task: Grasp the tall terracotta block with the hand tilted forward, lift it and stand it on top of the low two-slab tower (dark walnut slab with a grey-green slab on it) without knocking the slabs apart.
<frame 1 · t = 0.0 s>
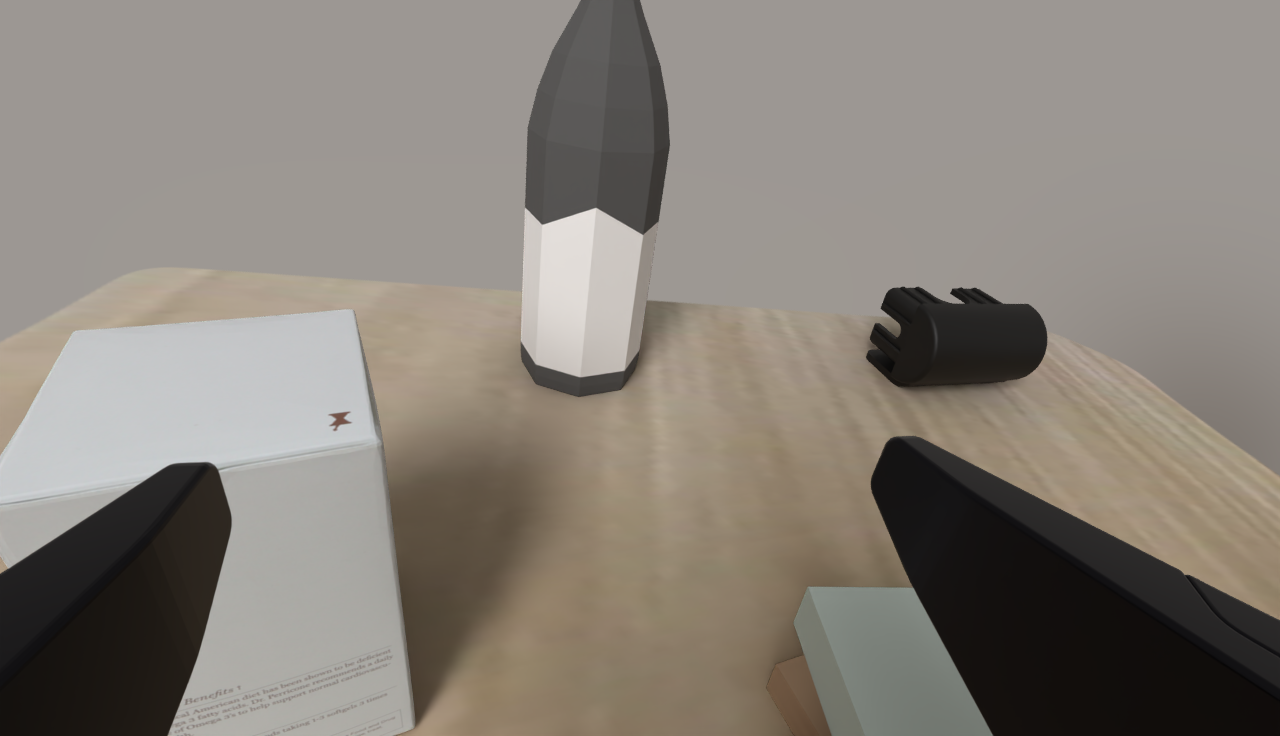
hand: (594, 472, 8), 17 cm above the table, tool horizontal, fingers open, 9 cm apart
supplement box: (297, 676, 22), on the table
end cap: (935, 381, 48), on the table
wine bottle: (578, 367, 42), on the table
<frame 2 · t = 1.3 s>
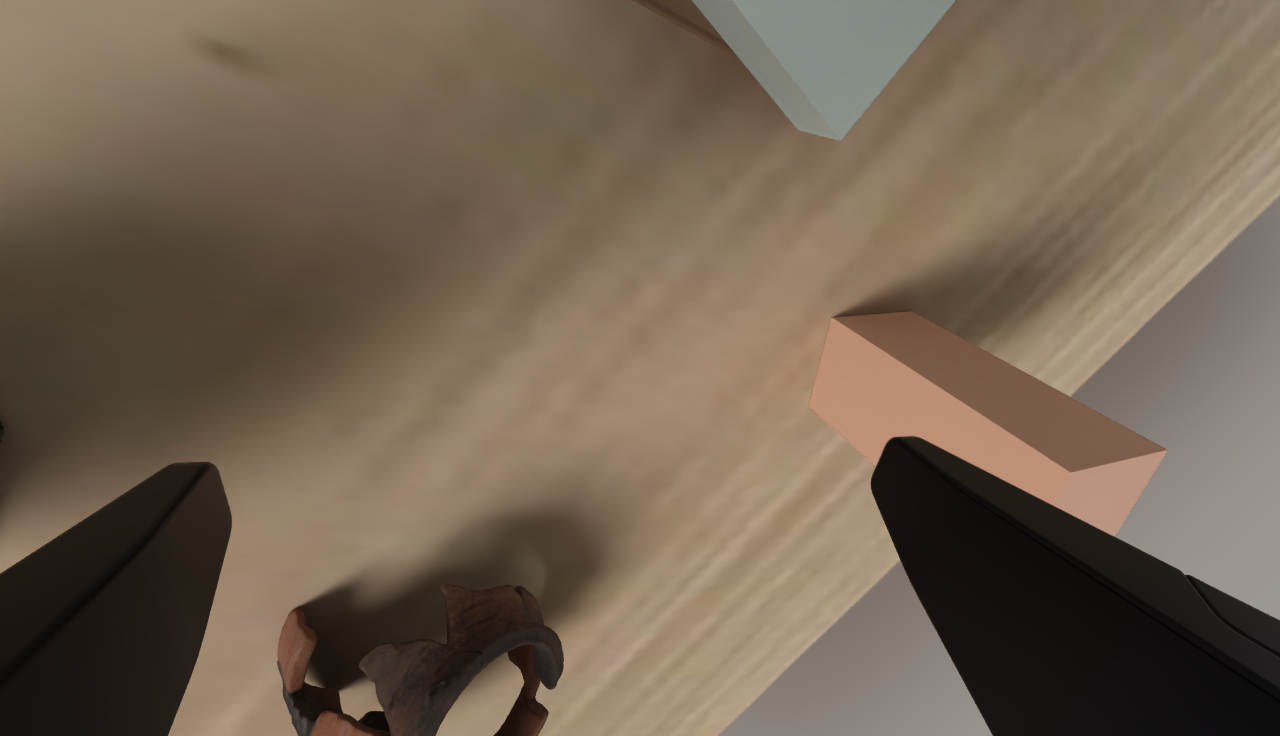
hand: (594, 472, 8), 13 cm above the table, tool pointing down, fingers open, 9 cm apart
terracotta block: (859, 359, 28), on the table
brown curved piece: (408, 637, 26), on the table
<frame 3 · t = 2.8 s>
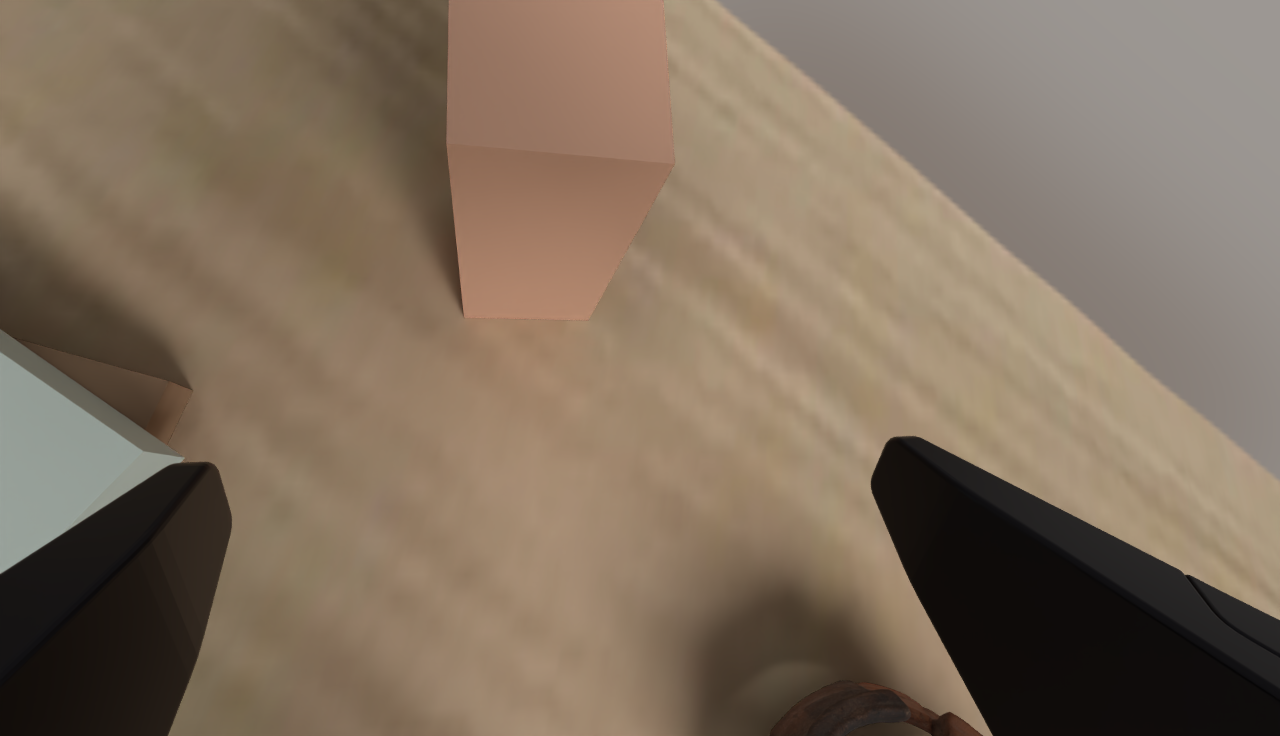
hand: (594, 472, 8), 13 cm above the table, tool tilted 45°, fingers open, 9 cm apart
terracotta block: (526, 261, 23), on the table
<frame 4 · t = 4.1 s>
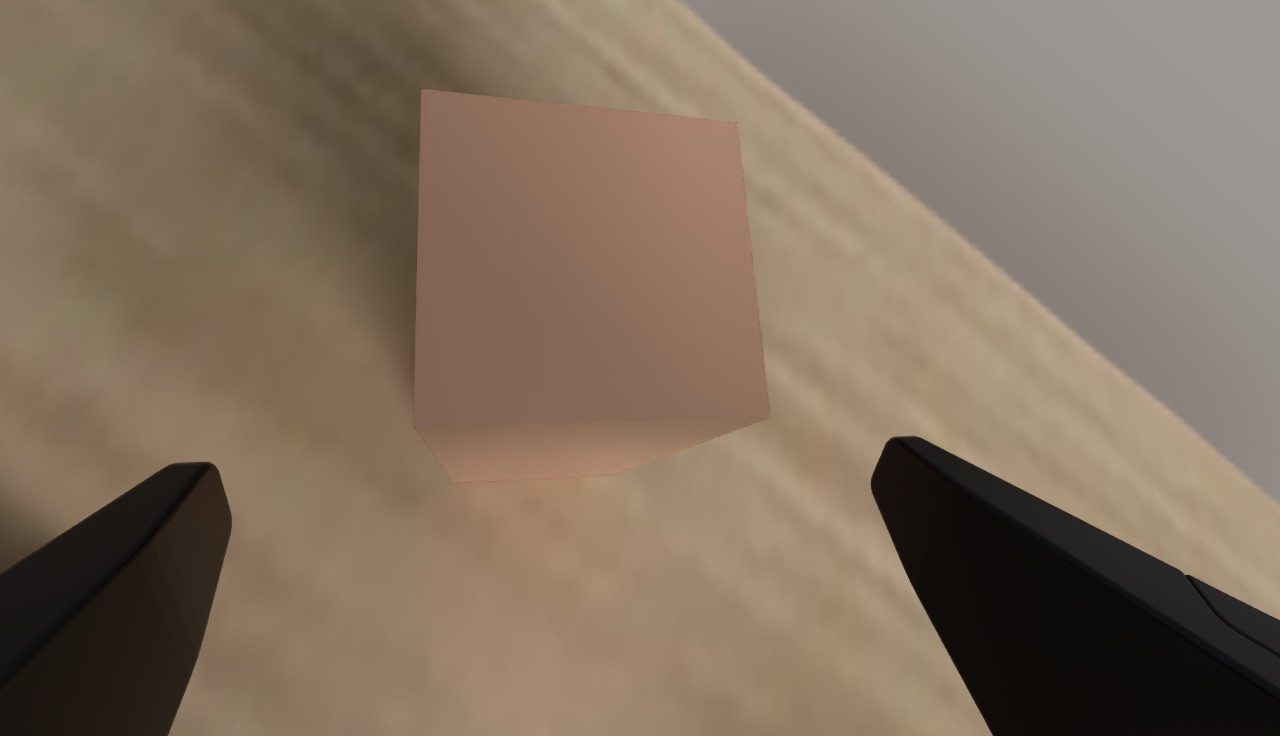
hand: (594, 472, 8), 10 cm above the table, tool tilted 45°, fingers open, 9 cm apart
terracotta block: (533, 403, 18), on the table
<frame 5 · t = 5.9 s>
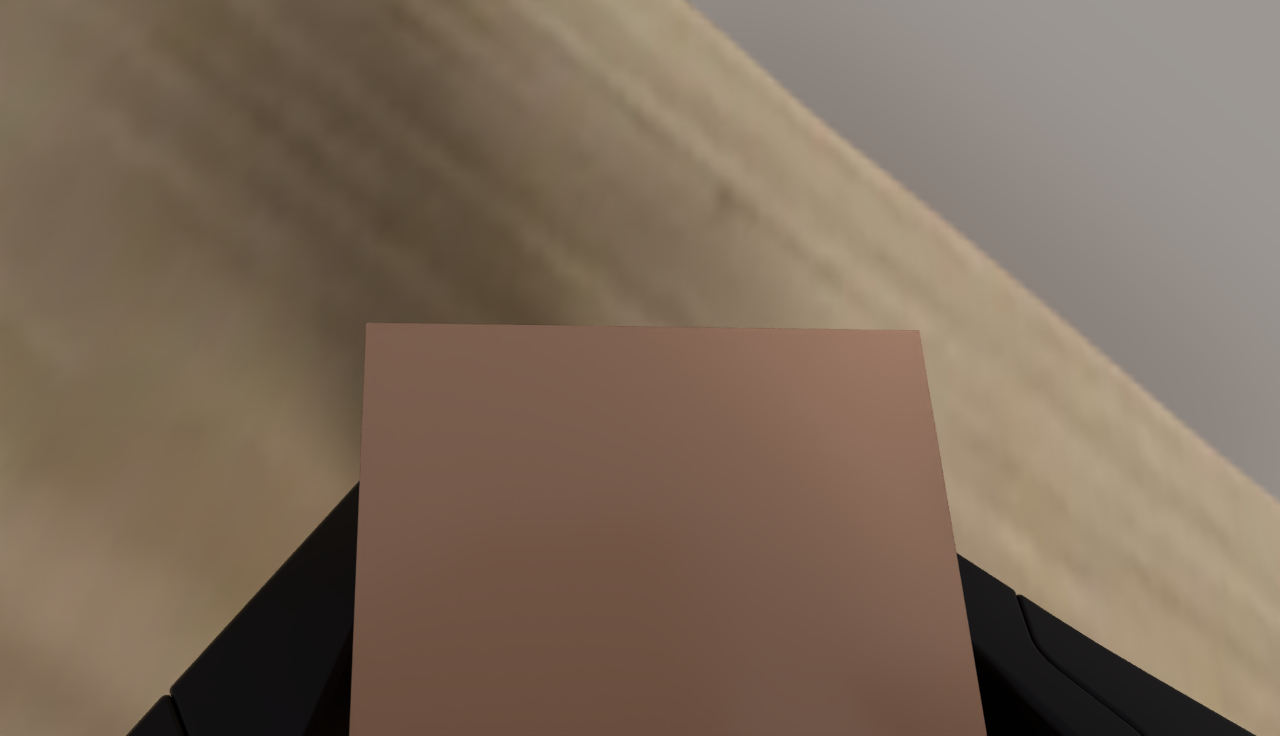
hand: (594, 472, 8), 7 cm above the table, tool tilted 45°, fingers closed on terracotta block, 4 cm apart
terracotta block: (546, 549, 15), on the table, touching gripper
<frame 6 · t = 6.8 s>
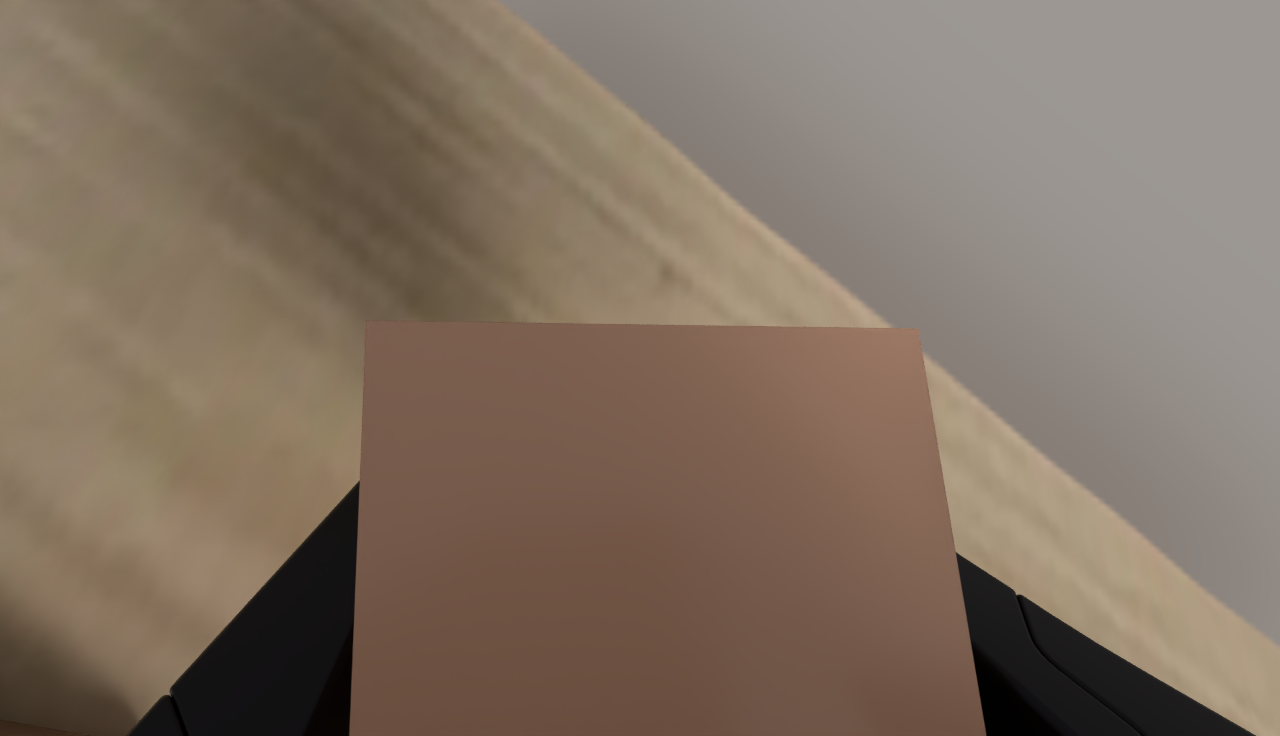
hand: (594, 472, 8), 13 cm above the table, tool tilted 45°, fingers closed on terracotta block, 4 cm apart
terracotta block: (546, 548, 15), point 6 cm above the table, touching gripper
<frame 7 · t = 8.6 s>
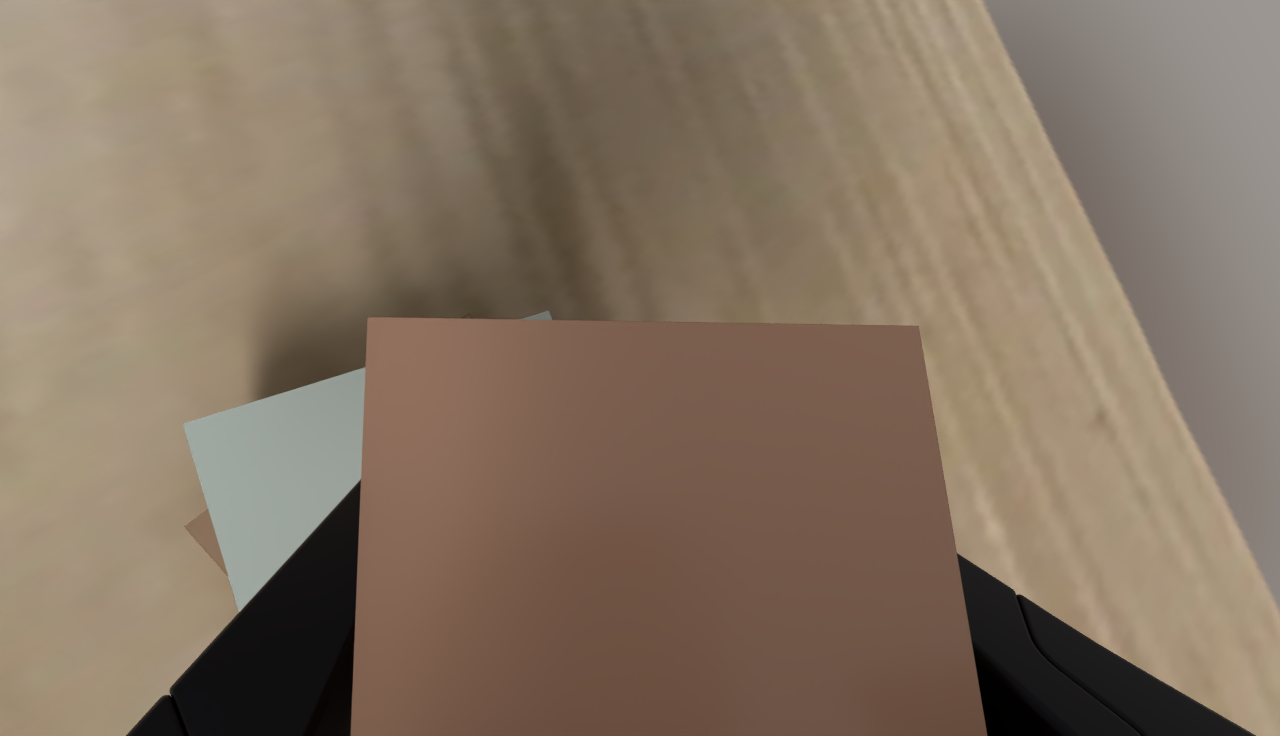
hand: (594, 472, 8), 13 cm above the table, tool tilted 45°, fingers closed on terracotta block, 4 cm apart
slab lower: (450, 530, 21), on the table
terracotta block: (547, 547, 15), point 6 cm above the table, touching gripper
slab upper: (445, 528, 19), point 1 cm above the table
when the fingers open (13 cm above the table, at t = 9.4 s): terracotta block drops 3 cm, point 4 cm above the table.
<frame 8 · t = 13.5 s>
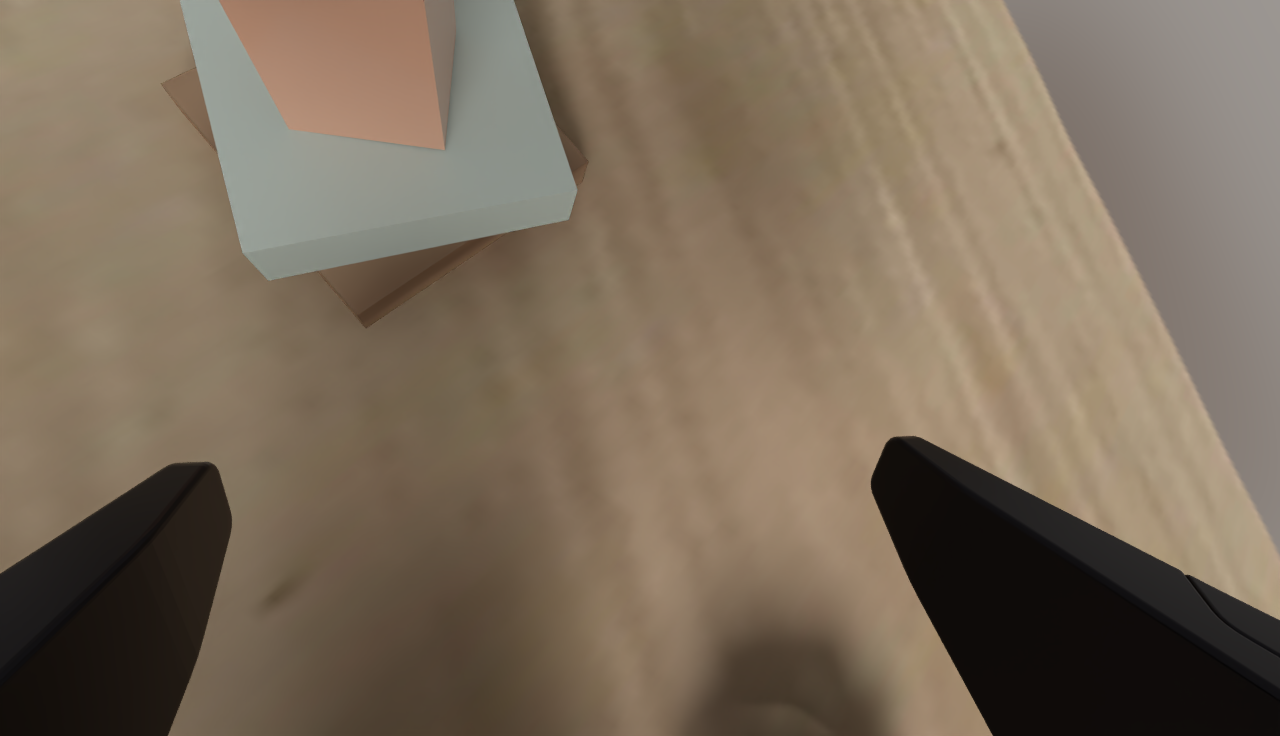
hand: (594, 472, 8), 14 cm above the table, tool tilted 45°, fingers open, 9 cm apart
slab lower: (398, 159, 24), on the table, touching slab upper
terracotta block: (376, 76, 19), point 4 cm above the table
slab upper: (391, 118, 21), point 1 cm above the table, touching slab lower
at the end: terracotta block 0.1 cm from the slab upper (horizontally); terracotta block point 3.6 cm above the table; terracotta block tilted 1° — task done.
